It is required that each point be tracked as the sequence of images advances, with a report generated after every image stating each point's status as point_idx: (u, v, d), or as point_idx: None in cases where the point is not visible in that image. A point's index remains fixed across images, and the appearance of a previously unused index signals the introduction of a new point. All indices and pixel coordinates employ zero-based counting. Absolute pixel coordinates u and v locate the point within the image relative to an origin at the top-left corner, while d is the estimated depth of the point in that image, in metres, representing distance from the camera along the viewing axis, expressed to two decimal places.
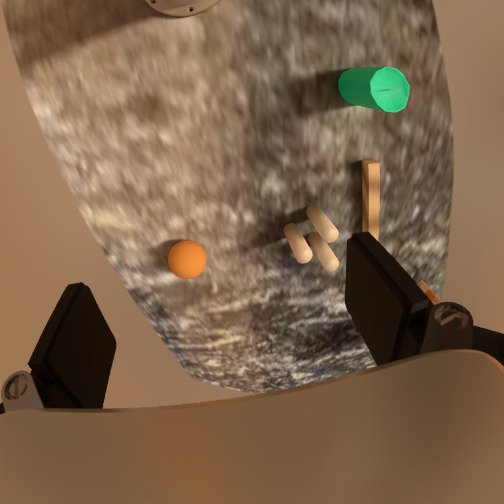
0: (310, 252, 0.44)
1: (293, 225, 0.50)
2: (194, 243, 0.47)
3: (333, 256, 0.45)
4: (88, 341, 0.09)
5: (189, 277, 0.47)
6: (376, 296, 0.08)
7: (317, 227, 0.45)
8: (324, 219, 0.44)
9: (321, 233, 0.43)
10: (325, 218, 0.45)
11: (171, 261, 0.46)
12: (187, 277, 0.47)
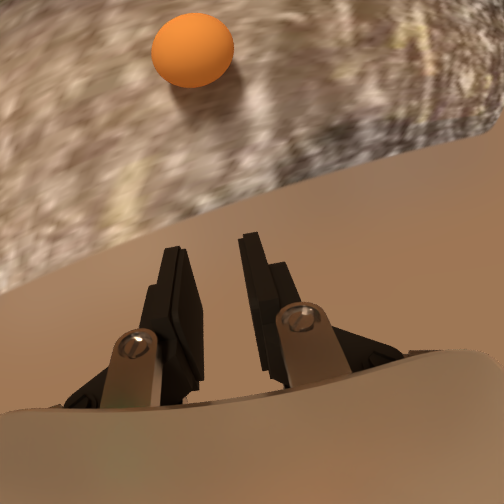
0: None
1: None
2: None
3: None
4: (191, 302, 0.10)
5: (216, 41, 0.17)
6: None
7: None
8: None
9: None
10: None
11: (177, 77, 0.18)
12: (215, 45, 0.17)
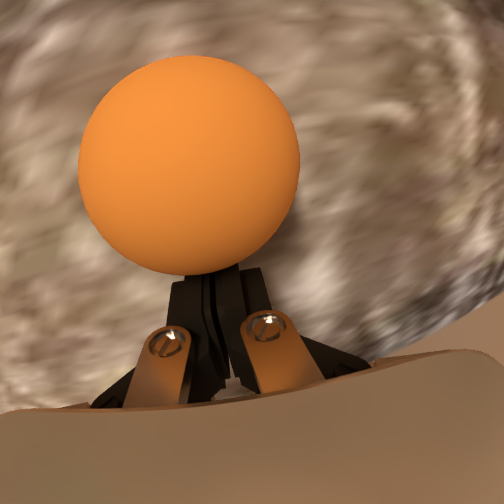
0: None
1: None
2: None
3: None
4: None
5: (260, 104, 0.06)
6: None
7: None
8: None
9: None
10: None
11: (142, 239, 0.06)
12: (259, 115, 0.06)
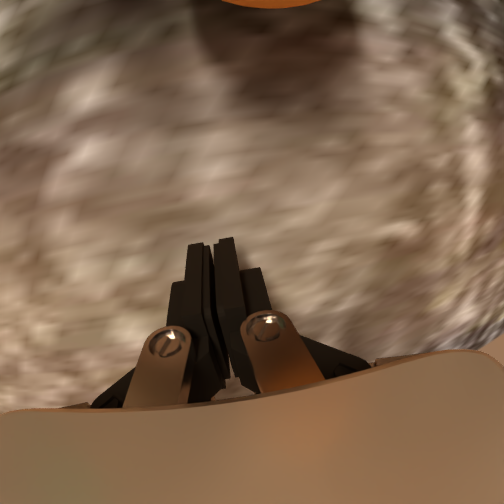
0: None
1: None
2: None
3: None
4: None
5: None
6: None
7: None
8: None
9: None
10: None
11: None
12: None
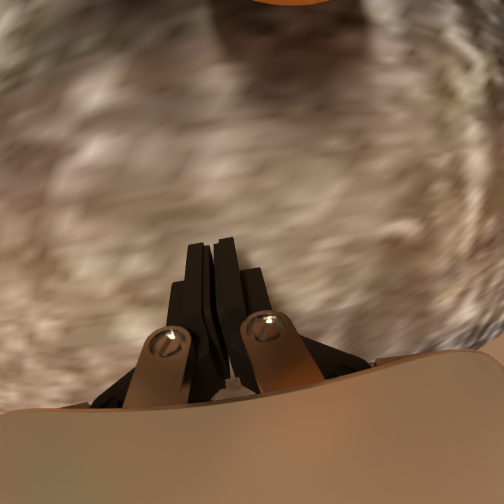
0: None
1: None
2: None
3: None
4: None
5: None
6: None
7: None
8: None
9: None
10: None
11: None
12: None
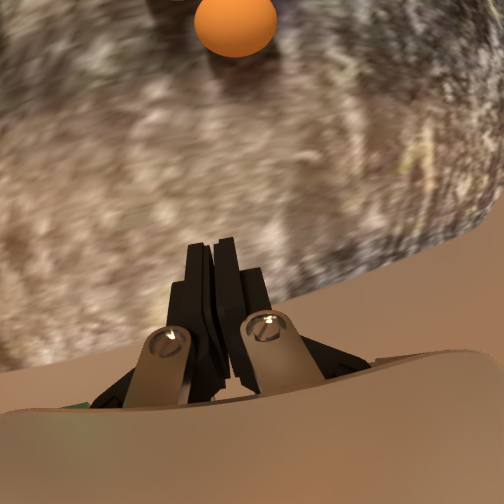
0: None
1: None
2: (220, 8, 0.15)
3: None
4: None
5: None
6: None
7: None
8: None
9: None
10: None
11: None
12: None
